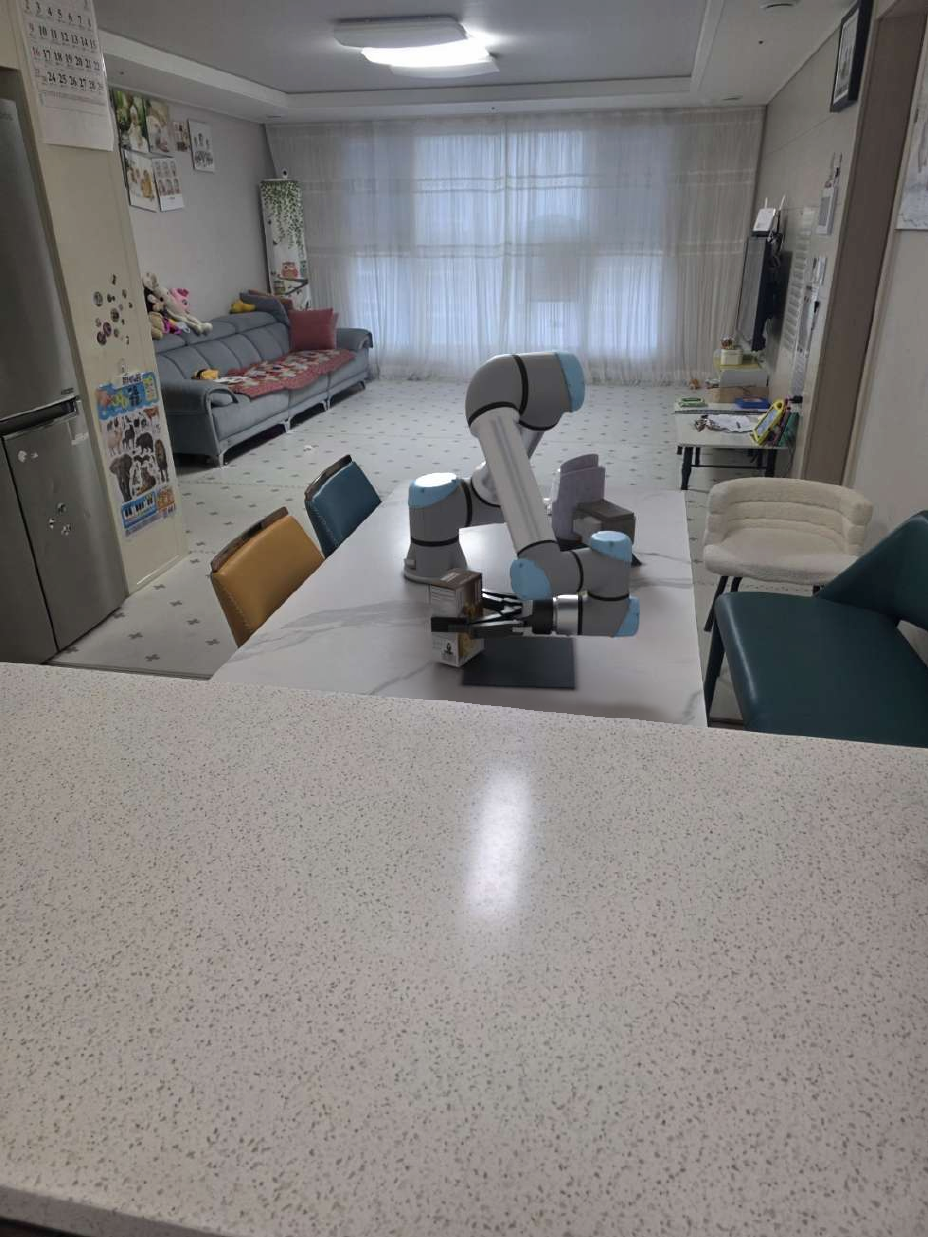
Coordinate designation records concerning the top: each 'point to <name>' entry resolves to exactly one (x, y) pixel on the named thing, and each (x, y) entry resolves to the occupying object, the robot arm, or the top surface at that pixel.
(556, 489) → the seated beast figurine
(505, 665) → the mat
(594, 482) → the coffee machine
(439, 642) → the coffee box
